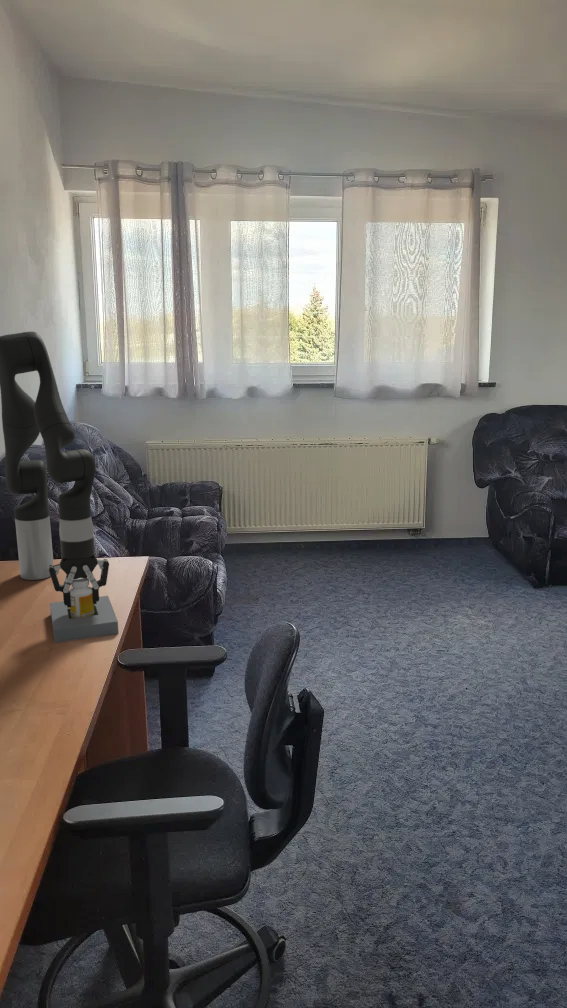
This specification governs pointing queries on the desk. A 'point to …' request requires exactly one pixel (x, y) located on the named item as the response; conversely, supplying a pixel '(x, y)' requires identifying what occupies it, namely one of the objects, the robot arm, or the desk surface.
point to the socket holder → (83, 621)
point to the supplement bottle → (81, 598)
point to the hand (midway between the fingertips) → (81, 604)
